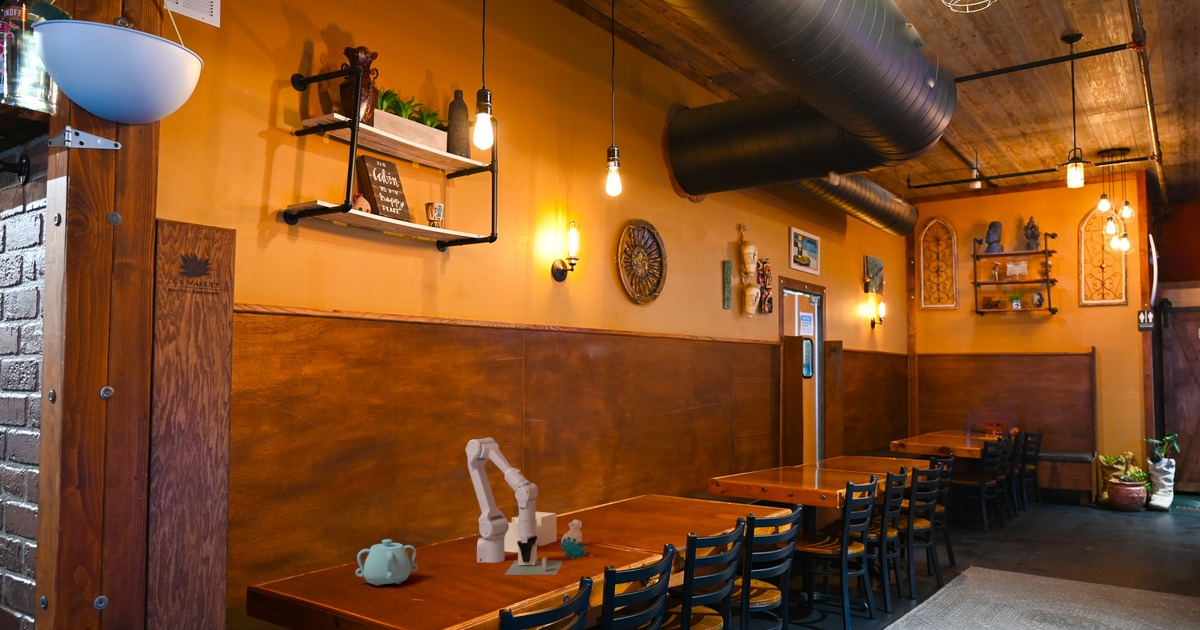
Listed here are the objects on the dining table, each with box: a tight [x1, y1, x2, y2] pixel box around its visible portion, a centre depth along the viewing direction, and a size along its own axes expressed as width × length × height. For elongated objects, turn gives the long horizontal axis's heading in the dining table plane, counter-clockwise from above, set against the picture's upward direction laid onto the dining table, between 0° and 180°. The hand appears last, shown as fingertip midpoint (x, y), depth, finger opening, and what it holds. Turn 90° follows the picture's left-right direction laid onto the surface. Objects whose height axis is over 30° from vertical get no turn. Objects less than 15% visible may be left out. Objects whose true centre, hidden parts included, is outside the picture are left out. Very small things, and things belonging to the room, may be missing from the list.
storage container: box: [504, 511, 558, 553], centre depth 324 cm, size 25×11×11 cm, turn 151°
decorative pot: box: [355, 538, 419, 586], centre depth 270 cm, size 16×16×14 cm
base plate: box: [504, 560, 564, 576], centre depth 282 cm, size 17×20×1 cm
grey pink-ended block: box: [541, 557, 548, 572], centre depth 276 cm, size 1×3×4 cm, turn 176°
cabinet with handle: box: [517, 544, 538, 565], centre depth 286 cm, size 6×6×6 cm
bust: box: [560, 518, 583, 548], centre depth 321 cm, size 12×8×11 cm
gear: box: [560, 537, 588, 560], centre depth 299 cm, size 11×6×10 cm
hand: (527, 560), depth 286 cm, fingers closed on cabinet with handle, 6 cm apart
